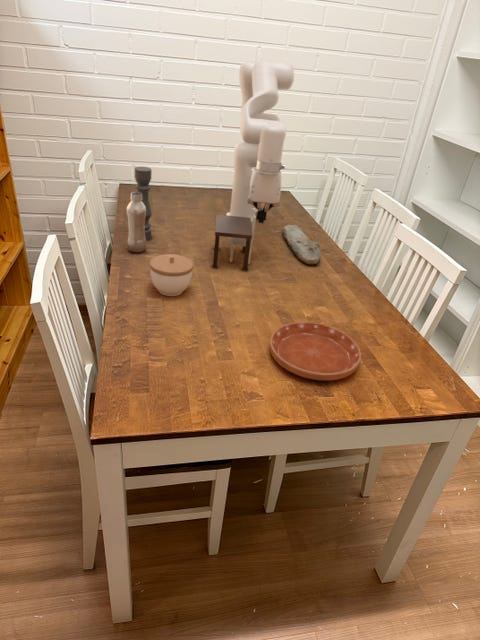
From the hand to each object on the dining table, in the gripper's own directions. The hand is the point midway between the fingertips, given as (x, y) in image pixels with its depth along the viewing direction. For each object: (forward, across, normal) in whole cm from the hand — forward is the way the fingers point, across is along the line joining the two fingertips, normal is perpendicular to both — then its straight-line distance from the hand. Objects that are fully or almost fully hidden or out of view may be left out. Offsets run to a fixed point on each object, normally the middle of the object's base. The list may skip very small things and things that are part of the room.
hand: (260, 221), depth 160 cm
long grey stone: (+15, -18, -17) cm, 29 cm away
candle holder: (+15, +41, -12) cm, 45 cm away
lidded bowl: (+15, +27, +27) cm, 41 cm away
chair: (+15, +6, 0) cm, 16 cm away
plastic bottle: (+15, +41, 0) cm, 44 cm away
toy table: (+15, +9, 0) cm, 17 cm away
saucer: (+15, -12, +56) cm, 59 cm away
